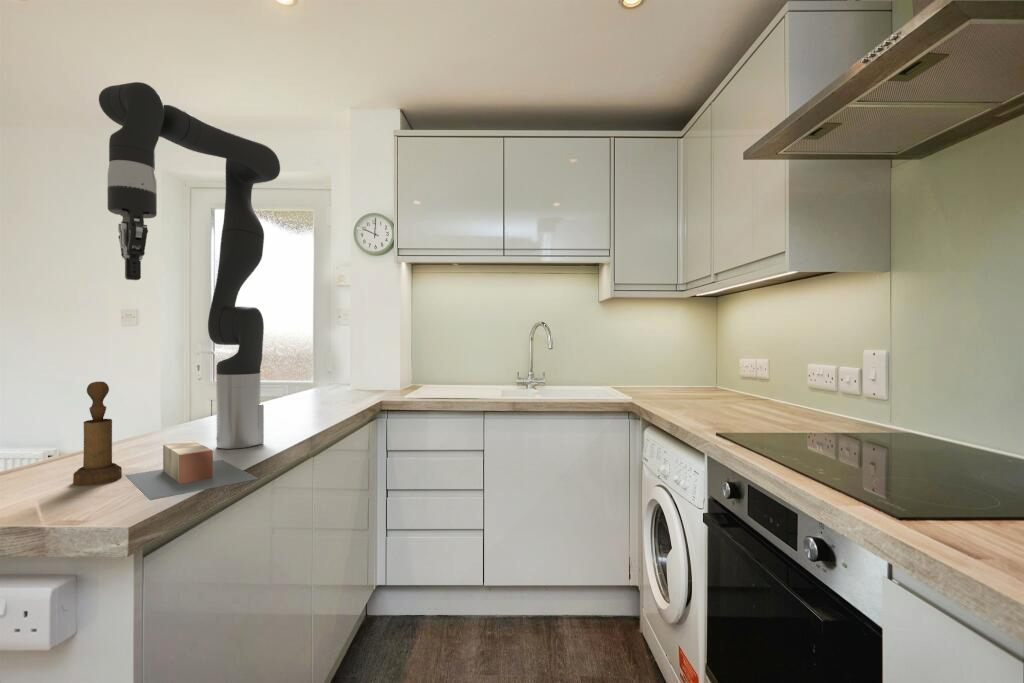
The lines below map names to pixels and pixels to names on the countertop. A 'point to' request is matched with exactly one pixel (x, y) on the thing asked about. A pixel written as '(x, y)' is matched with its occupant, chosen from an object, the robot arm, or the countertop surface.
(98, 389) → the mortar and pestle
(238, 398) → the robot arm
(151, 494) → the slate mat
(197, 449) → the maple block
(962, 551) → the countertop surface
